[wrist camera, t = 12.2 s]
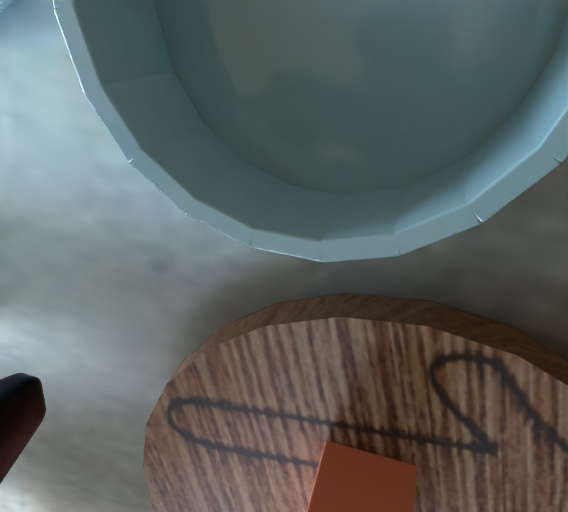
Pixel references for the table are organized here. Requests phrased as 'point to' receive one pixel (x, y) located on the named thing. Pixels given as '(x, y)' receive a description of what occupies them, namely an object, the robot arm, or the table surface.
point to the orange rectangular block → (361, 482)
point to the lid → (4, 4)
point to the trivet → (362, 409)
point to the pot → (329, 112)
